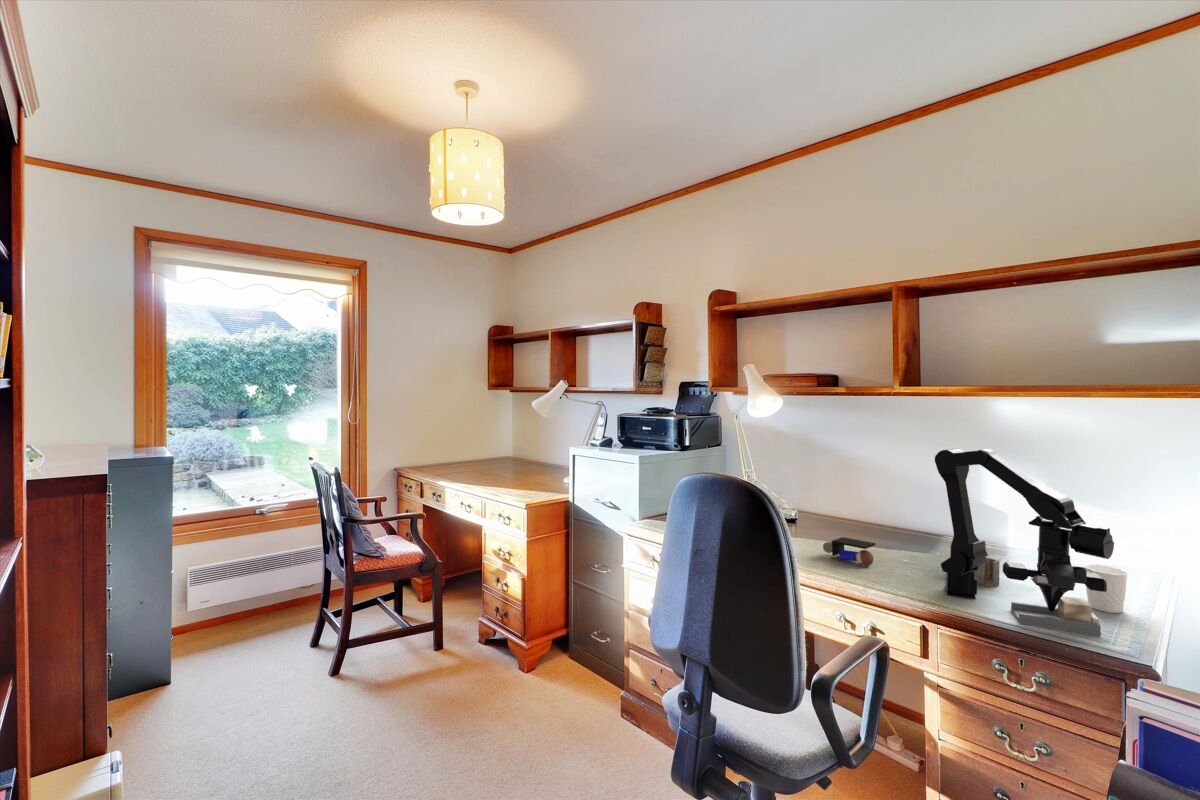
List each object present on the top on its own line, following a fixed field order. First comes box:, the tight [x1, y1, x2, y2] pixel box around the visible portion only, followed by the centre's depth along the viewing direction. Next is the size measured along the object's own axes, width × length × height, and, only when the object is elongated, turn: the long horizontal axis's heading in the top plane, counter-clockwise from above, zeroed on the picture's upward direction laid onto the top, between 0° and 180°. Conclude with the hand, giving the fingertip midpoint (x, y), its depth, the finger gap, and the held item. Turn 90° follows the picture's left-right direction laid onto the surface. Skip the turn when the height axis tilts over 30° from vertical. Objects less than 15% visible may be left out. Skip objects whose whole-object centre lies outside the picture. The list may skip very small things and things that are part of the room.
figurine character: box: [822, 536, 876, 567], centre depth 180 cm, size 7×8×15 cm
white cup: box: [1084, 563, 1128, 614], centre depth 142 cm, size 8×8×10 cm
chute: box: [1010, 600, 1102, 637], centre depth 134 cm, size 15×9×3 cm, turn 65°
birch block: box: [1057, 595, 1093, 623], centre depth 132 cm, size 5×5×5 cm
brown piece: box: [973, 556, 1000, 588], centre depth 162 cm, size 11×3×10 cm, turn 26°
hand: (1050, 611), depth 134 cm, fingers closed
